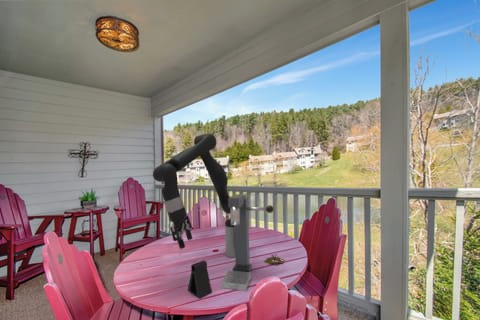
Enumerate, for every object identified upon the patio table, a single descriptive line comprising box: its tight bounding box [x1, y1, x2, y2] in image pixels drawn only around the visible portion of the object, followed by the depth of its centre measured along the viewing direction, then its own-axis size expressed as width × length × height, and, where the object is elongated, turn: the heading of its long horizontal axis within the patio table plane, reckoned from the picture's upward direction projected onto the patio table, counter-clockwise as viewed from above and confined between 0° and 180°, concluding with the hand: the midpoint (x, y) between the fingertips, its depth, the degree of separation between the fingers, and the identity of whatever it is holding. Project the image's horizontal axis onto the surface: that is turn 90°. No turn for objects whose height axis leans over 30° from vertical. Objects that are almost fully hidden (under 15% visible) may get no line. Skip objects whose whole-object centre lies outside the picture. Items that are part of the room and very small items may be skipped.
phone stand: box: [187, 259, 213, 299], centre depth 92 cm, size 9×6×12 cm, turn 45°
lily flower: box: [263, 253, 284, 267], centre depth 120 cm, size 12×12×5 cm
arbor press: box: [220, 194, 275, 292], centre depth 102 cm, size 20×22×38 cm
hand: (186, 243), depth 96 cm, fingers open, 8 cm apart
